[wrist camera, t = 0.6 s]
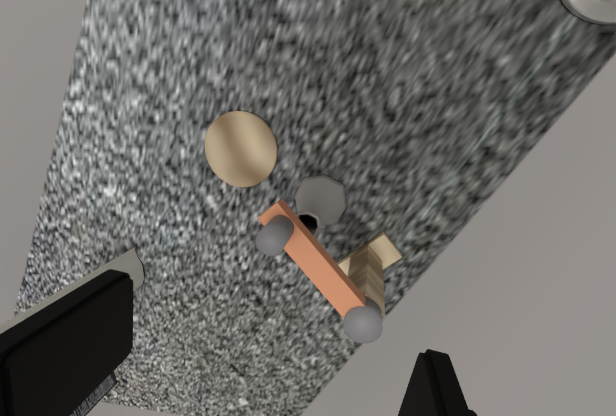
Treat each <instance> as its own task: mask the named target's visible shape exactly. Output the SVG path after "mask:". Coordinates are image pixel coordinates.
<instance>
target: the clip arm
mask: <svg viewBox="0 0 616 416" xmlns="http://www.w3.org/2000/svg"><path fill="white" fill-rule="evenodd" d="M258 219H259V221H260V222H261V223H262V224H263V225H264V228H263V229H262V230H261V231H260V232H259V233H258V234H257V237H256V245H257V247H258V249H259V250H260V251H261V252H262V253H264V254H265V255H269V256H275V255H278V254H279V253H281V251H282V250H283V248H284V250H285V251H286V252H287V253H288V254H289V255H290V257H291V258H292V259H293V260H294V261H295V262H296V263H297V265H298V266H299V267H300V268H301V269H302V270H303V272H304V273H305V274H306V275H307V276H308V277H309V279H310V280H311V281H312V282H313V283H314V284H315V286H316V287H317V288H318V289H319V290H320V291H321V293H322V294H323V295H324V296H325V297H326V298H327V299H328V301H329V302H330V303H331V304H332V305H333V306H334V308H335V309H336V310H337V311H338V312H339V313H340V315H341V316H342V317H343V318H344V323H343V328H344V331H345V333H346V335H347V336H348V337H349V338H350V339H352V340H353V341H355V342H358V343H371V342H374V341H375V340H377V339H378V338H379V337H380V335H381V333H382V311H381V308H380V306H379V305H378V304H377V303H376V302H375V301H373V300H371V299H369V298H365V296H364V295H363V294H362V293H361V292H360V291H359V289H358V288H357V287H356V286H355V285H354V283H353V282H352V281H351V280H350V279H349V278H348V276H347V275H346V274H345V273H344V272H343V270H342V269H341V268H340V267H339V266H338V264H337V263H336V262H335V261H334V260H333V259H332V257H331V256H330V255H329V254H328V253H327V251H326V250H325V249H324V248H323V247H322V246H321V244H320V243H319V242H318V241H317V240H316V238H315V237H314V236H313V235H312V234H311V232H310V231H309V230H308V229H307V228H306V227H305V225H304V224H303V223H302V222H301V221H300V219H299V218H298V217H297V216H296V215H295V213H294V212H293V211H292V210H291V209H290V208H289V206H288V205H287V204H286V203H285V202H284V200H283V199H282V198H281V199H280V200H279V201H278V202H276V203H275V204H274V205H273V206H272V207H270V208H269V209H268V210H267V211H265V212H264V213H263V214H262V215H261V216H260V217H259V218H258Z"/></svg>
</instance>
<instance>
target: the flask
mask: <svg viewBox="0 0 616 416" xmlns="http://www.w3.org/2000/svg"><path fill="white" fill-rule="evenodd" d="M295 201H296V206H297V211H298V212H297V213H296V216H297V217H298V218H299V219H300V221H301V222H302V223H303V224H304V225H305V227H306V228H307V229H308V230H309V231H310V232H311V234H312V235H313V236H314V237H315V238H316V236H317V235H318V233H319V231H320V229H321V226H324V225H329V224H337V223H338V221H339V219H340V217H341V216H342V214H343V212H344V211H345V209H346V207H347V202H346V195H345V188H344V185H343V184H341V183H339V182H337V181H335V180H334V179H332V178H330V177H328V176H326V175H319V176H312V177H305V178H303V180H302V182H301V184H300V186H299V188H298V190H297V192H296V194H295Z"/></svg>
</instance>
